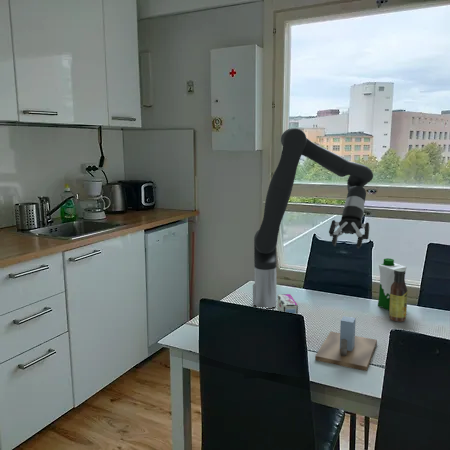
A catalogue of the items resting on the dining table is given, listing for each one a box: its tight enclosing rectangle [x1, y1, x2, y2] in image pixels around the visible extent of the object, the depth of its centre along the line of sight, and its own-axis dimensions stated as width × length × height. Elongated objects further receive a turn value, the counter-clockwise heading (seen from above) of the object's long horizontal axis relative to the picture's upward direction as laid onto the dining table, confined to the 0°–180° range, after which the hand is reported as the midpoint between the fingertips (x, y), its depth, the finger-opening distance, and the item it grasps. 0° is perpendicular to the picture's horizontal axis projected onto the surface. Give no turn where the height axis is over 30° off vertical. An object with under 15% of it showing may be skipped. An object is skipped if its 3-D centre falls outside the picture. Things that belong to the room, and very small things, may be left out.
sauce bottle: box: [388, 269, 409, 323], centre depth 170 cm, size 7×6×20 cm
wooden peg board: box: [314, 331, 378, 372], centre depth 146 cm, size 16×20×6 cm
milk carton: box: [377, 258, 407, 311], centre depth 182 cm, size 9×9×20 cm
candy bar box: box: [276, 293, 299, 314], centre depth 152 cm, size 11×5×16 cm, turn 5°
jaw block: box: [339, 315, 357, 351], centre depth 146 cm, size 4×4×10 cm
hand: (345, 246), depth 162 cm, fingers open, 8 cm apart
